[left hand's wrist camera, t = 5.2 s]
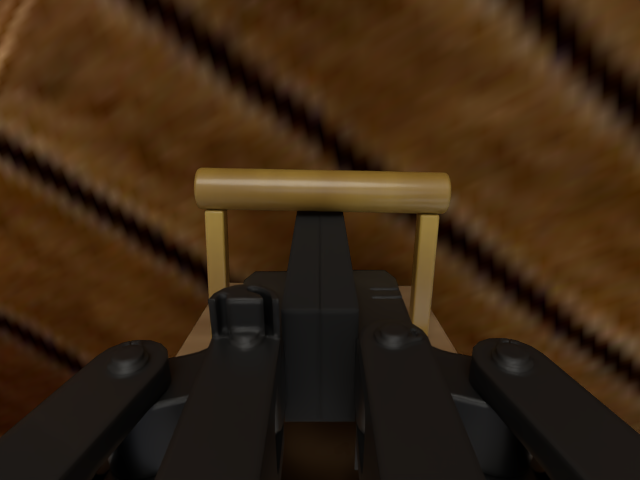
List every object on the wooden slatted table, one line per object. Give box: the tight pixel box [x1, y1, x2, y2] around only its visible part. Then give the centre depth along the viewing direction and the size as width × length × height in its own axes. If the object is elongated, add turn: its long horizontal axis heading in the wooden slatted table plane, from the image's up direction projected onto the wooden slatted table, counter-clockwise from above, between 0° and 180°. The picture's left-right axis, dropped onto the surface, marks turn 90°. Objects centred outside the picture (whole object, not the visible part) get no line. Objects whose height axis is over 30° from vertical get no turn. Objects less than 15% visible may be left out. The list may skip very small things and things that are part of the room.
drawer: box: [176, 168, 458, 480], centre depth 18 cm, size 23×9×8 cm, turn 179°
